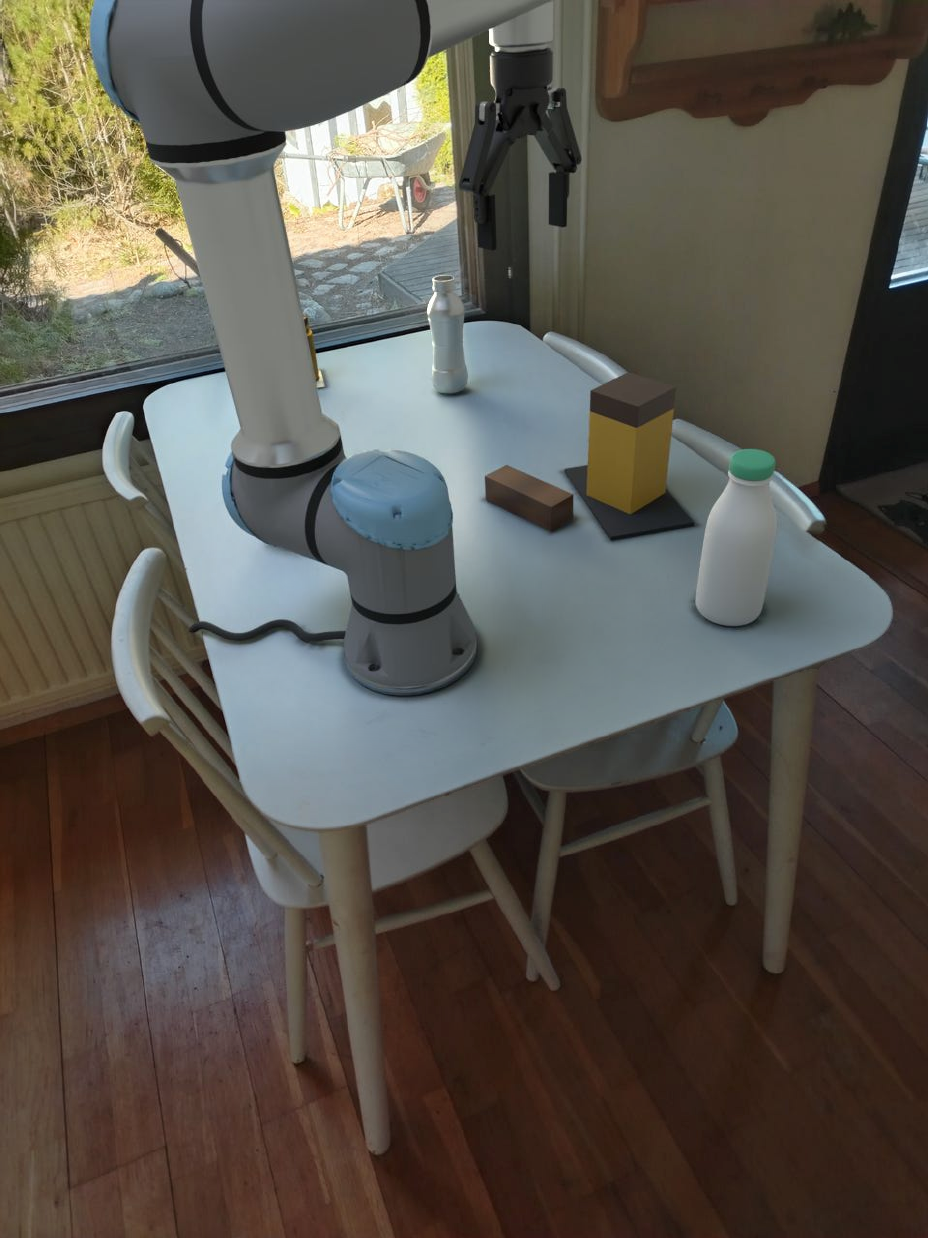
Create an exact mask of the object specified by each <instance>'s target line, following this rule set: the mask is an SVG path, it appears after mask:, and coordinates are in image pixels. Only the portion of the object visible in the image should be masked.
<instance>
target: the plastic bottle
mask: <svg viewBox="0 0 928 1238" xmlns="http://www.w3.org/2000/svg"><path fill="white" fill-rule="evenodd" d="M456 287H457V286H456V283H455V276H454V275H450V274H440V275H436V276H433V278H432V291H433V292H434V293H433V295H432V297H431V299H429V302H428V304H427V309H426V314H427V319H428V325H429V330H430V334H431V341H432V367H431V368H432V369H431V382H432V386H433V388H434V389H435V390H436V391H437V392H438V393H442V394H455V393H459V392H461V391H463V390H464V389H466V386H467V385H468V381H469V371H468V368H467V364H466V357H465V352H464V350H465V349H464V324H465V314H466V313H465V311H466V308H465V305H464V302H463V301H462V299H461V298H460V296H459V295H458V294H457V293H456V292H455V290H456V289H457V288H456Z"/></svg>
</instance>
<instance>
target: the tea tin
mask: <svg viewBox="0 0 928 1238" xmlns="http://www.w3.org/2000/svg"><path fill="white" fill-rule="evenodd" d="M589 391H590V393H589V395H590V396H589V398H590V399H589V419H588V421H589V422H588V443H587V444H588V447H587V451H588V452H587V465H588V469H587V496H590V497H592V498H594V499H596V500H599V501H601V502H603V503H605V504H608V505H610V506H612V507H615V508H617V509H619V510H621V511H624V512H626V513H628V514H632V513H634V512H635V511H637V510H638V509H640V508H642V507H643V506H645V505H646V504H648V503H650V502H651V501H653V500H655V499H656V498H658V497H659V496H661V495H663V494H664V493H665V492H666V490H667V480H668V471H669V461H670V453H671V443H672V442H671V441H672V434H673V424H674V423H673V422H674V413H675V404H676V403H675V402H676V393H677V387H676V386H673V385H671V384H667V383H664V382H661V381H658V380H656V379H652V378H649V377H645V376H642V375H640V374H636V373H634V372H633V373H632V372H630V371H629V372H625V373H624V374H622V375H619V376H617V377H615V378H613V379H611V380H609V381H607V382H605V383H603V384H601V385H598V386H597V387H595V388H592V389H591V390H589Z"/></svg>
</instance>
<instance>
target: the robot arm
mask: <svg viewBox="0 0 928 1238" xmlns="http://www.w3.org/2000/svg"><path fill="white" fill-rule="evenodd" d="M488 31H489V45H491V47H494V50H493V51H491V54H490V55H489V67H490V69H489V73H490V85H491V86H492V87H493V89H494V91H495V97H494V101H493V102H492V101H483V100H482V101H480V100H479V101H476V103H475V106H474V124H473V128H472V132H471V136H470V140H469V144H468V148H467V151H466V155H465V160H464V162H463V163H464V164H463V167H462V170H461V171H462V172H461V175H460V179H459V183H458V189H459V191H461V192H466V193H468V194H471V196H472V209H473V210H472V211H473V220H474V222H475V223H476V231H477V248H478V249H479V248H480V249H484V250H488V251H492V252H493V251H496V250H498V249H497V248H498V247H497V217H496V216H497V215H496V194H493V193H491V190H492V187H493V186H494V184H495V181H496V179H497V177H498V175H499V172H500V170H501V168H502V165H503V164H504V161H505V159H506V157H507V155H508V152H509V150H510V148H511V147H512V145H514V144H515V143H516V142H517V140H518V139H524V138H525V137H527V136H533V137H534V139H535V140H536V142H537V144H538V145H539V148H541V150H542V152H543V154H544V156H545V158H546V159H547V160H548V162H549V164H550V166H551V167H552V169H553V170H554V171H551V172H548V225H549V226H554V227H559V228H566V227H567V226H568V198H569V197H570V184H571V183H570V178H571V176H570V175H571V174H575V173H576V172H577V169H578V165H580V164H581V163H582V159H583V158H582V154H581V151H580V147H579V143H578V141H577V137H576V134H575V131H574V130H575V129H574V126H573V124H572V120H571V117H570V113H569V110H568V103H567V99H568V98H567V90H566V88H565V87H553V86H550V84H551V83H552V81H553V77H554V76H553V75H554V74H553V73H554V70H553V69H554V66H553V64H554V59H553V58H554V57H553V56H554V52H553V50H552V48H551V47H549V44H551V43H552V42H553V40H554V0H94V2H93V4H92V9H91V14H90V20H89V43H90V44H89V45H90V51H91V58H92V63H93V65H94V68H95V71H96V75H97V77H98V80H99V82H100V84H101V86H102V88H103V90H104V91H105V93H106V95H107V97H108V98H109V99H110V101H111V102H112V103H113V104H114V105H115V106H117V107H119V108H120V109H121V111H122V112H123V114H125V116H126V117H128V118H130V119H131V120H133V121H134V122H136V123H137V124H139V125H140V127H141V131H142V135H143V139H144V142H145V145H146V148H147V152H148V156H149V160H150V162H151V164H152V165H154V166H156V168H158V169H159V170H161V171H162V172H163V173H164V174H166V175H168V176H169V177H170V178H171V179H172V180H173V181H174V182H175V183H174V184H175V186H176V190H177V195H178V197H179V202H180V205H181V209H182V212H183V216H184V220H185V224H186V229H187V232H188V235H189V239H190V243H191V247H192V250H193V254H194V258H195V262H196V265H197V269H198V273H199V276H200V280H201V285H202V289H203V292H204V296H205V300H206V303H207V307H208V310H209V313H210V314H209V315H210V318H211V322H212V326H213V329H214V333H215V337H216V341H217V345H218V348H219V352H220V356H221V360H222V364H223V367H224V371H225V374H226V378H227V379H226V380H227V382H228V386H229V390H230V395H231V398H232V401H233V404H234V408H235V412H236V416H237V420H238V424H239V427H240V428H239V430H238V431H237V433H236V434H235V436H234V437H233V438H232V439H231V444H230V450H231V451H230V453H229V455H228V457H227V459H226V461H225V465H224V467H225V468H227V470H226V473H225V474H223V475H222V476H221V492H222V498H223V502H224V505H225V508H226V510H227V513H228V515H229V516H230V518H231V519H232V520H233V522H234V523H235V524H236V526H238V527H239V528H240V529H241V530H242V531H244V532H245V533H247V534H248V535H250V536H252V537H254V538H256V539H257V540H259V542H260V541H261V542H262V543H264V544H266V545H270V546H273V547H276V548H280V549H283V550H286V551H288V552H290V553H294V554H297V555H299V556H301V557H305V558H307V559H310V560H313V561H316V562H317V563H321V564H323V565H326V566H329V567H331V568H334V569H336V570H339V571H342V572H343V573H344V574H345V575H346V578H347V583H348V589H349V595H350V600H351V601H350V602H351V607H350V611H349V616H348V620H347V624H346V629H345V630H332V631H331V630H330V631H322V632H314V633H311V632H306V631H305V630H303V628H301V627H300V625H299V624H297V623H296V622H294V621H292V620H289V619H284V618H281V619H280V618H279V619H274V620H270V621H268V622H265V623H262V624H261V625H259V626H257V627H256V628H253V629H251V630H249V631H245V632H233V631H229V630H226V629H223V628H221V627H219V626H217V625H216V624H213V623H211V622H209V621H205V620H200V621H196V622H194V623H193V624H191V626H190V627H189V628H188V632H189V633H192V634H194V633H197V632H199V631H200V630H204V631H208V632H210V633H211V634H214V635H215V636H217V637H220V638H222V639H224V640H226V641H227V640H228V641H232V642H245V641H246V642H247V641H250V640H253V639H255V638H258V637H260V636H261V635H263V634H266V633H267V632H269V631H272V630H275V629H279V628H281V629H282V628H283V629H288V630H290V631H291V632H292V633H293V634H294V635H295V636H296V637H297V638H299V639H301V640H302V641H305V642H308V643H309V642H310V643H317V642H324V641H336V640H343V654H344V659H345V665H346V668H347V670H348V672H349V674H350V675H351V676H352V678H353V679H355V681H356V682H358V683H359V684H360V685H362V686H364V687H366V688H368V690H371V691H374V692H377V693H381V694H385V695H391V696H418V695H422V694H423V695H424V694H427V693H431V692H434V691H435V692H436V691H438V690H440V689H443V688H444V687H447V686H449V685H450V684H453V683H454V682H456V681H458V679H460V678H461V677H462V676H464V675H465V674H466V672H468V670H469V669H470V668H471V667H472V665H473V663H474V661H475V659H476V656H477V651H478V643H477V642H478V641H477V633H476V630H475V625H474V623H473V621H472V618H471V617H470V615H469V613H468V611H467V608H466V606H465V605H464V603H463V601H462V599H461V595H460V593H459V592H458V591H457V576H456V563H455V547H454V531H453V523H454V512H453V508H452V502H451V501H450V495H449V489H448V484H447V482H446V479H445V477H444V475H443V474H442V472H441V470H439V469H438V468H437V467H436V466H435V464H433V463H432V462H430V460H428V459H426V458H425V457H423V456H420V455H417V454H416V453H412V452H409V451H405V450H399V449H392V448H389V449H387V450H386V451H381V450H380V449H378V448H377V449H369V450H363V451H360V452H356V453H355V454H351V455H349V456H348V457H347V456H346V454H345V450H344V444H343V439H342V434H341V433H342V432H341V430H340V426H339V424H338V423H337V421H335V420H334V419H333V418H331V417H329V416H328V415H326V414H324V413H323V411H322V404H321V400H320V395H319V390H318V388H317V384H316V379H315V374H314V369H313V364H312V359H311V354H310V349H309V344H308V339H307V333H306V328H305V323H304V318H303V308H302V304H301V298H300V293H299V288H298V283H297V278H296V274H295V273H296V272H295V268H294V263H293V257H292V252H291V248H290V247H291V246H290V242H289V237H288V232H287V229H286V228H287V227H286V222H285V217H284V212H283V207H282V201H281V197H280V192H279V187H278V181H277V176H276V170H275V166H276V163H277V161H278V158H279V157H280V156H281V154H282V153H283V151H284V150H285V148H286V147H287V145H288V141H287V134H286V132H289V131H296V130H301V129H306V128H309V127H312V126H317V125H319V124H321V123H324V122H327V121H330V120H332V119H335V118H337V117H339V116H342V115H344V114H347V113H349V112H352V111H354V110H356V109H358V108H360V107H361V106H364V105H366V104H369V103H371V102H373V101H376V100H377V99H379V98H381V97H383V96H386V95H388V94H390V93H392V92H393V91H396V90H398V89H400V88H402V87H404V86H406V85H407V84H410V83H411V82H412V81H414V80H416V78H417V77H418V76H419V75H420V74H421V72H422V71H423V69H424V68H425V66H426V64H427V62H428V60H429V58H432V57H433V56H435V55H438V54H440V53H442V52H444V51H447V50H448V49H451V48H453V47H455V46H457V45H460V44H461V43H464V42H466V41H468V40H470V39H472V38H474V37H476V36H479V35H481V34H483V33H485V32H488ZM548 86H549V87H548Z"/></svg>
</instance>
